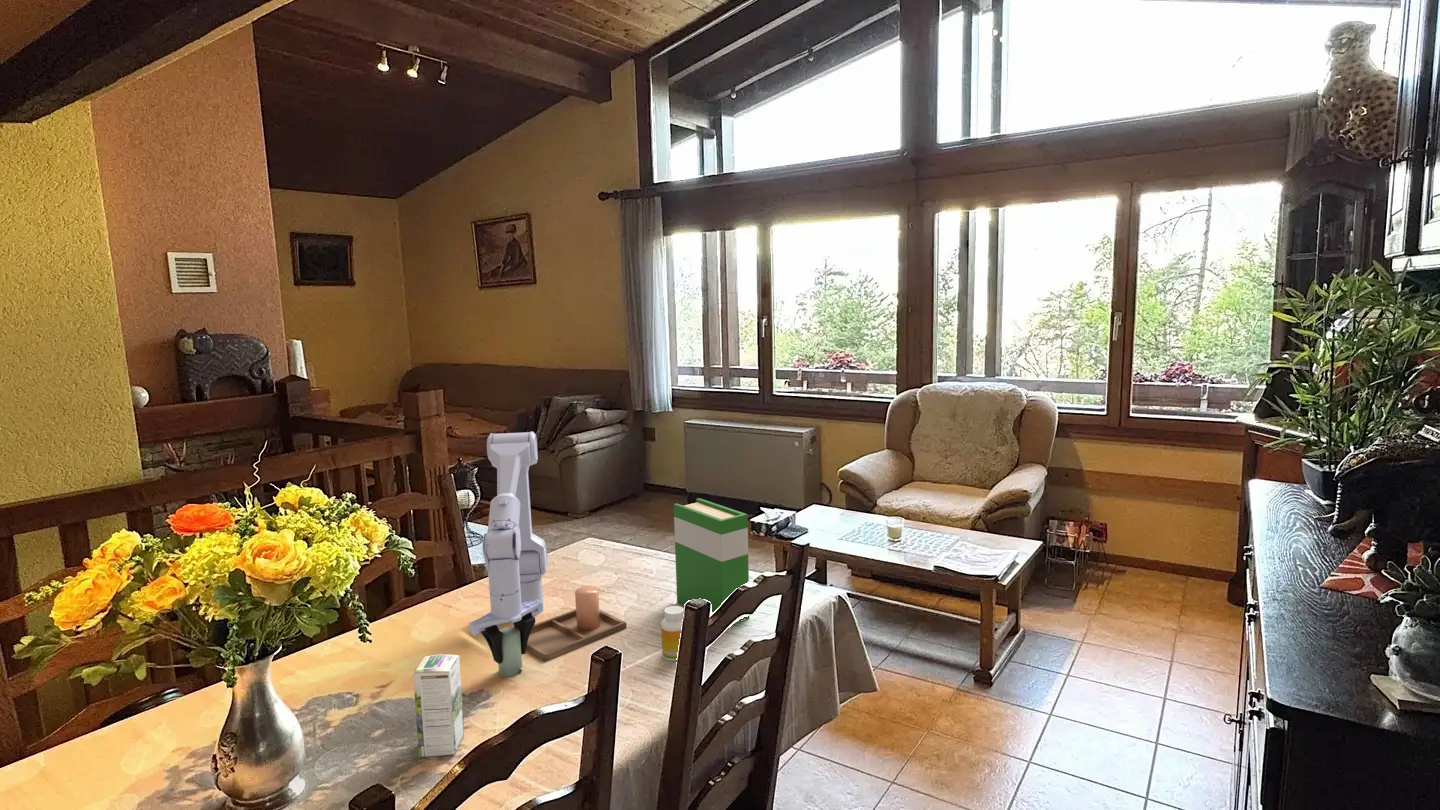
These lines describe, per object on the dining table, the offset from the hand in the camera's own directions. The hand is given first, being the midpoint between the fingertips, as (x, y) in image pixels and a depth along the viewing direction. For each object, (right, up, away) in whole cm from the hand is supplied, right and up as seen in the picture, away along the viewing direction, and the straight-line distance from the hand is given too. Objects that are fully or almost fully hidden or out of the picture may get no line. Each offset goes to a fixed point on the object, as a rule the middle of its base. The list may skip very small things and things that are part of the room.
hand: (509, 657), depth 144 cm
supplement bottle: (+32, -2, +5) cm, 32 cm away
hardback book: (+39, +2, +26) cm, 47 cm away
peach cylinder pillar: (+12, +1, +18) cm, 21 cm away
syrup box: (-4, -7, -23) cm, 25 cm away
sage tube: (0, -3, 0) cm, 3 cm away
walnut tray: (+9, -1, +14) cm, 17 cm away
